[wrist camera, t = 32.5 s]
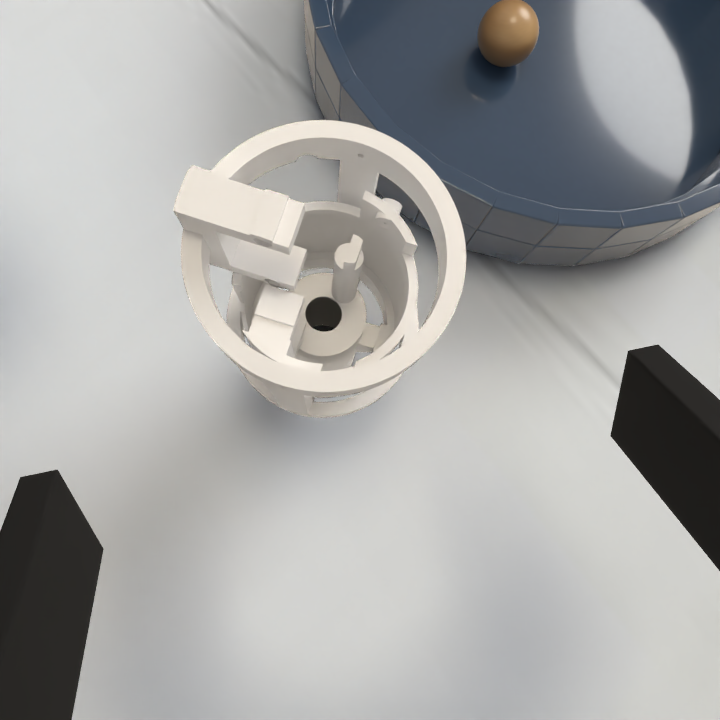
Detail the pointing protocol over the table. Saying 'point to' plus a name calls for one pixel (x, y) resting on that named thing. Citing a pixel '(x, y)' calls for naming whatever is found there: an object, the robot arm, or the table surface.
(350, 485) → the table surface
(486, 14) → the brown egg
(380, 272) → the white cylindrical mechanical housing
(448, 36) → the round tray
